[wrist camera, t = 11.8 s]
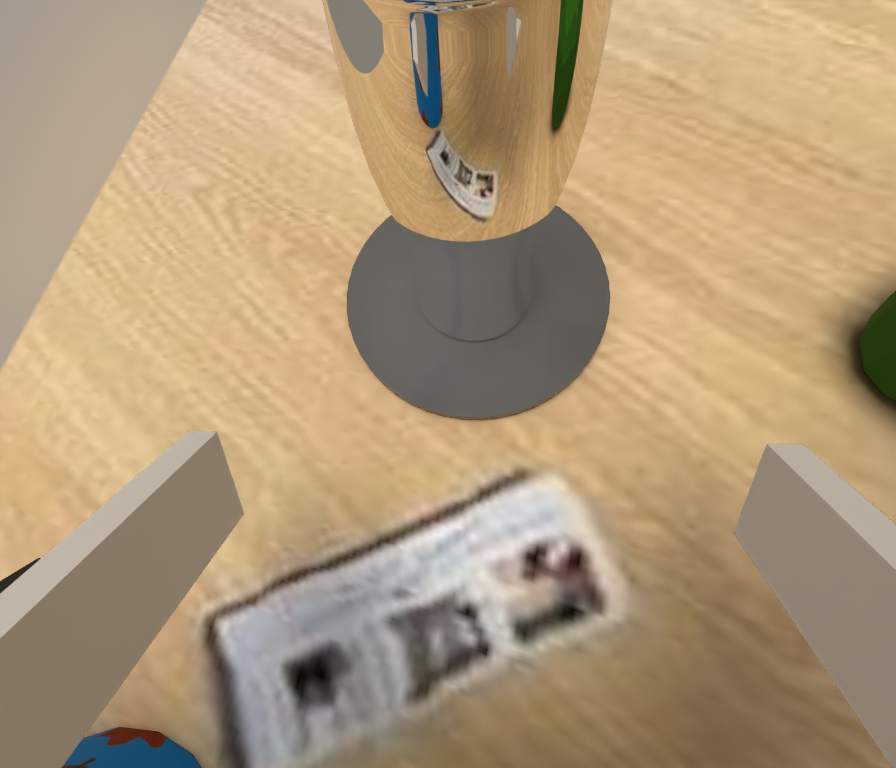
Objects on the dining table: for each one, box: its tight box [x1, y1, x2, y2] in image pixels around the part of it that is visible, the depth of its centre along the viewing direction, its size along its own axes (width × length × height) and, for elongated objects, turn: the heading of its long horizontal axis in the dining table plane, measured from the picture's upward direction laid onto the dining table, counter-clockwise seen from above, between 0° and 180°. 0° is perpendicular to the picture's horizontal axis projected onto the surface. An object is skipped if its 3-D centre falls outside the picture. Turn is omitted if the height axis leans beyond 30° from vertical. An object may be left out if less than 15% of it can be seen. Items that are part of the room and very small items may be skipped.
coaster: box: [347, 205, 610, 420], centre depth 23 cm, size 14×14×1 cm
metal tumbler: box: [322, 0, 613, 342], centre depth 15 cm, size 7×7×15 cm
